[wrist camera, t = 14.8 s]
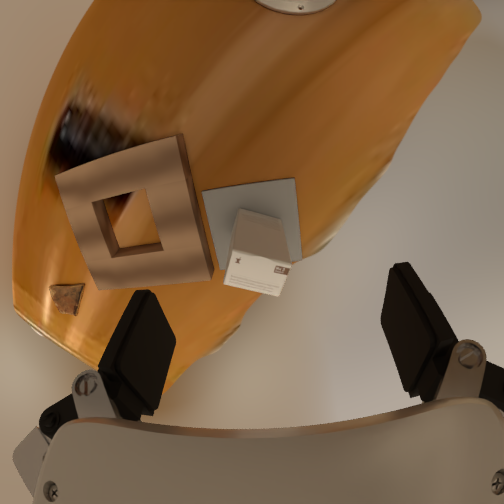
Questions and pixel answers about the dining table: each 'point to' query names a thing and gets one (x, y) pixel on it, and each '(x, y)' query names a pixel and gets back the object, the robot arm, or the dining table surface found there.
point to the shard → (67, 298)
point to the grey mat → (256, 200)
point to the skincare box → (257, 254)
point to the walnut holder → (163, 209)
